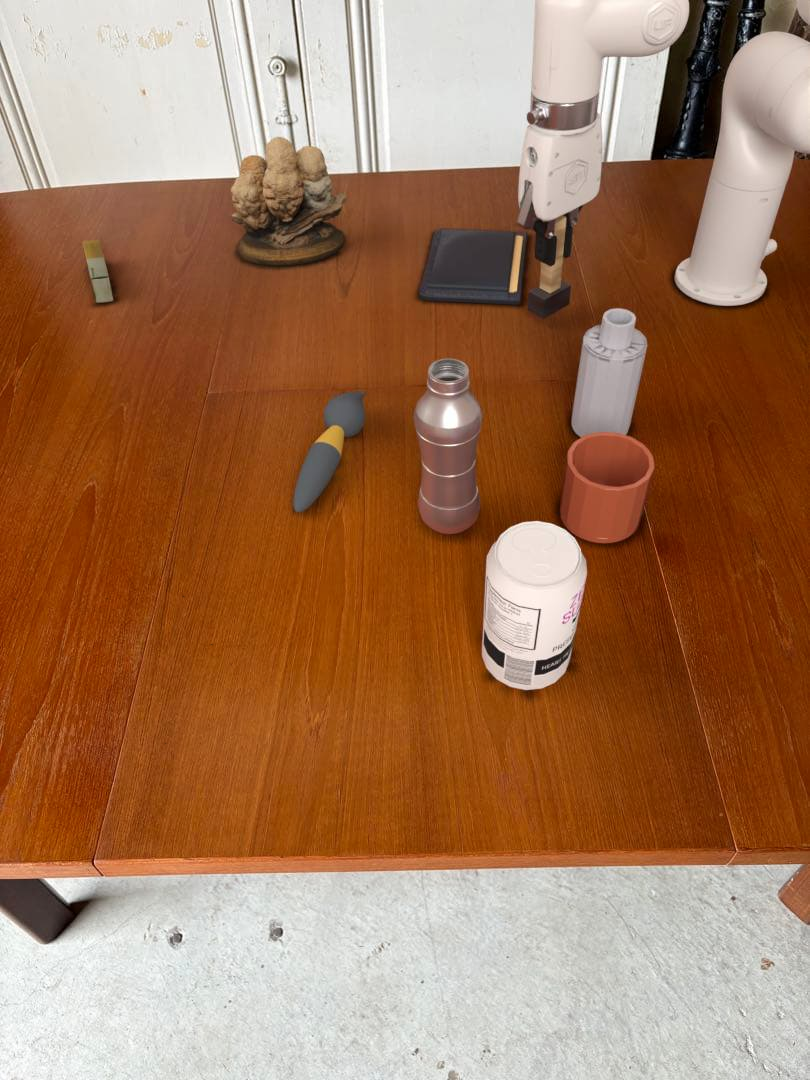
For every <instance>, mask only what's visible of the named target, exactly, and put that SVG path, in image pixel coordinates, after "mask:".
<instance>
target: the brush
mask: <svg viewBox="0 0 810 1080" xmlns="http://www.w3.org/2000/svg"><path fill="white" fill-rule="evenodd" d="M566 218H567V217H565V216H563V215H562V216H560V217H558V218H556V219H555V230H554V235H555V236H557V248H556V261H555V264H554V265H553V266H548V265H546V264H545V263H543V262H541V261H540V275H539V284H538V285H537V286H535V287H534V288H532V289H530V290H528V297H527V311H528V312H530V313H531V314H533V315H535V316H537V317H539V318H541V319H542V320H544V319H546V318H548V317H550V316H552V315H553V314H556V313H557V312H559V311H561V310H562V309H564V308H566V307H567V306H569V305H570V302H571V301H570V299H571V289H572V285H571V284H570V283H568V282H566V281H564V280H562V274H563V263H564V257H563V252H564V240H565V229H566ZM543 222H544V223H545V221H543Z"/></svg>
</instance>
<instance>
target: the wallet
mask: <svg viewBox="0 0 810 1080" xmlns="http://www.w3.org/2000/svg"><path fill="white" fill-rule="evenodd" d="M432 235H433V236H432V239H431V243H430V248H429V252H428V257H427V261H426V264H425V268H424V272H423V275H422V278H421V282H420V285H419V292H418V298H419V299H422V300H424V301H431V302H446V303H447V302H448V303H474V304H492V305H513V306H514V305H515V306H520V305H521V300H522V293H523V292H522V290H523V277H524V267H525V260H526V259H525V258H526V249H527V239H528V232H525V231H524V232H523V231H511V230H494V229H493V230H490V229H470V228H469V229H468V228H444V227H443V228H437V229H435V230H434V232H433V234H432Z"/></svg>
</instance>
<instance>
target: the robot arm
mask: <svg viewBox="0 0 810 1080" xmlns="http://www.w3.org/2000/svg"><path fill="white" fill-rule="evenodd" d="M795 1H796V2H795V3H796V10H797V12H798V15H799V17H800V18H801V19H802V20H803V21H804V22H805V23H806V24H807V25H808V26H810V0H795ZM689 16H690V2H689V0H535V3H534V21H533V43H532V45H533V46H532V65H531V66H532V67H531V87H530V102H529V103H530V105H529V111H528V112H527V114H526V121H527V123H528V124H529V125H528V126H527V127H526V131H525V135H524V139H523V145H522V150H521V158H520V164H519V173H518V187H517V199H518V200H517V203H518V207H519V210H520V211H519V214H518V217H517V219H516V226H517V227H520V228H522V229H524V230H532V232H534V233H535V236H534V237H535V238H534V239H535V241H534V253H533V254H534V258H535V260H536V261H539V262H540V263H541V262H543V263H545V264H546V265H548V266H553V265H554V264H555V261H556V248H557V236H555V235H554V230H555V219H556V218H558V217H560V216H562V215H563V216H565V217H567V218H566V229H565V240H564V252H563V259H567V258H570V257H571V253H572V244H573V232H574V227H575V226H576V225H577V223H578V221H579V214H580V212H581V211H582V209H583V207H584V205H585V204H588V203H589V202H591V201H592V200H594V199H595V198H596V197H597V196H598V195H599V193H600V188H601V180H602V179H601V178H602V168H603V167H602V166H603V165H602V164H603V127H602V119H601V118H602V117H601V114H600V113H599V112H598V107H599V97H600V89H601V80H602V70H603V61H604V59H606V58H642V57H650V56H654V55H656V54H660V53H662V52H663V51H665V50H666V49H668V48H669V47H671V46H672V45H674V43H675V42H676V41H678V39H679V38H680V37H681V35H682V34H683V32H684V30H685V28H686V26H687V23H688V20H689ZM720 116H721V117H720V126H719V135H718V140H717V145H716V150H715V155H714V158H713V163H712V167H711V171H710V174H709V177H708V178H709V179H708V182H707V187H706V190H705V195H704V200H703V204H702V208H701V212H700V215H699V221H698V225H697V228H696V233H695V237H694V242H693V246H692V250H691V254H690V257H688V258H686V259H684V260H682V261H681V262H680V263H679V264H678V265H677V267H676V269H675V272H674V283H675V285H676V286H677V288H678V289H679V290H680V291H681V292H682V293H683V294H685V295H686V296H688V297H689V298H691V299H693V300H696V301H698V302H701V303H704V304H708V305H713V306H722V307H733V306H742V305H746V304H749V303H753V302H754V301H756V300H758V299H759V298H760V297H762V296H763V294H764V293H765V291H766V288H767V285H768V278H767V275H766V274H765V272H764V271H763V270H762V269H761V266H762V262H763V261H764V259H765V258H766V257H768V256H769V255H770V254H772V253H774V252H775V251H777V249H778V243H777V242H776V240H775V239H773V238H770V237H771V234H772V231H773V228H774V225H775V221H776V218H777V215H778V211H779V209H780V205H781V203H782V199H783V196H784V193H785V190H786V186H787V183H788V181H789V177H790V174H791V171H792V167H793V164H794V157H795V152H798V153H801V154H804V155H810V41H808V40H806V39H804V38H802V37H800V36H797V35H796V34H792V33H790V32H785V31H777V30H773V31H767V32H762V33H760V34H758V35H755V36H754V37H752V38H751V39H749V40H748V41H747V42H745V43H744V44H743V45H742V46H741V47H740V48H739V50H738V51H737V52H736V53H735V55H734V57H733V58H732V60H731V62H730V63H729V66H728V68H727V71H726V74H725V78H724V82H723V88H722V97H721V115H720ZM544 221H545V223H544Z"/></svg>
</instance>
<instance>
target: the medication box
mask: <svg viewBox="0 0 810 1080" xmlns="http://www.w3.org/2000/svg"><path fill="white" fill-rule="evenodd" d="M82 247H83V252H84V253H83V254H84V258H85V262H86V266H87V270H88V275H89V279H90V283H91V289H92V293H93V297H94V301H95V303H96V304H108V303H112V302H114V296H113V290H112V285H111V279H110V276H109V271H108V268H107V264H106V259H105V256H104V253H103V249H102V244H101V241H100V239H91V240H83V241H82Z"/></svg>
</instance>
